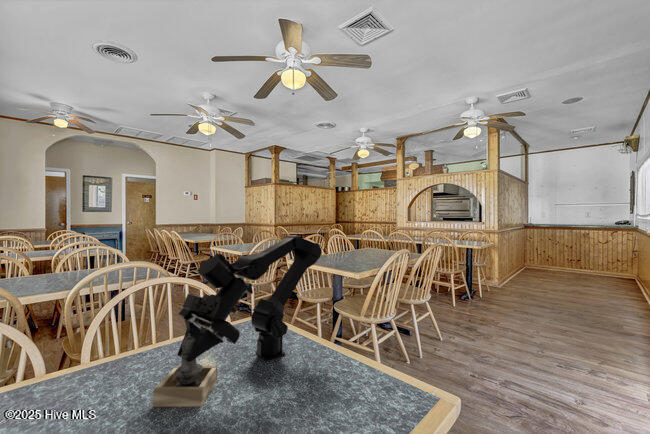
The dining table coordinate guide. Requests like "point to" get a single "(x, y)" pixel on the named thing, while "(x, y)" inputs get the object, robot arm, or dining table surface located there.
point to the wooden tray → (184, 390)
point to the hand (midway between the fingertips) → (183, 358)
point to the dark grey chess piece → (188, 366)
